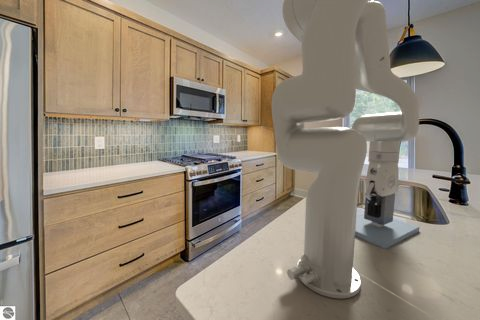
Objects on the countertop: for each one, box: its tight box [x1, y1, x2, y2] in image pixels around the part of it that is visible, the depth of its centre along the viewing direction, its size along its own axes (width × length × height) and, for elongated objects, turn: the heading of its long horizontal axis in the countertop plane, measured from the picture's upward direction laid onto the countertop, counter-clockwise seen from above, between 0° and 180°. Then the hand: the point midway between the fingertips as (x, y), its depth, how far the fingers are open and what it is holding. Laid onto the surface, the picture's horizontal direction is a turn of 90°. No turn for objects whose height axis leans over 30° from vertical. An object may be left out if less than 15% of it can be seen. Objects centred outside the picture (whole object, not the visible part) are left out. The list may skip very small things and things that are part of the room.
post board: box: [355, 214, 420, 250], centre depth 63 cm, size 20×14×6 cm
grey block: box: [363, 192, 396, 225], centre depth 62 cm, size 6×6×9 cm
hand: (378, 213), depth 63 cm, fingers closed on grey block, 5 cm apart
